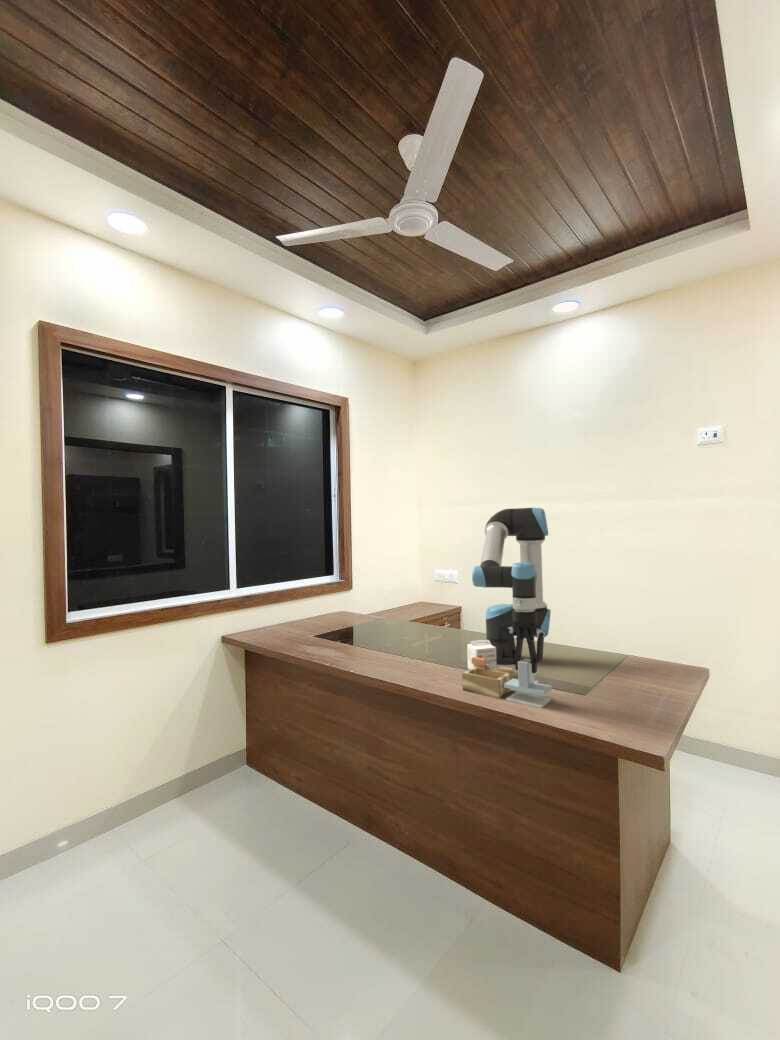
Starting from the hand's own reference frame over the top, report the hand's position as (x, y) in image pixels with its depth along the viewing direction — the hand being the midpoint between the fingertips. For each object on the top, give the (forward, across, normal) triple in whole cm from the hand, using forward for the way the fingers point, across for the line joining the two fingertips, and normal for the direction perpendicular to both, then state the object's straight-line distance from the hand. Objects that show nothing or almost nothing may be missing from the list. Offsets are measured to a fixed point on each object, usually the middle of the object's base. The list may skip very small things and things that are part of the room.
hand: (526, 681), depth 157 cm
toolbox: (+7, -16, +3) cm, 17 cm away
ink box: (+7, -24, +15) cm, 30 cm away
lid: (+4, 0, +2) cm, 4 cm away
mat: (+7, 0, +1) cm, 7 cm away
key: (-1, -21, +6) cm, 22 cm away
